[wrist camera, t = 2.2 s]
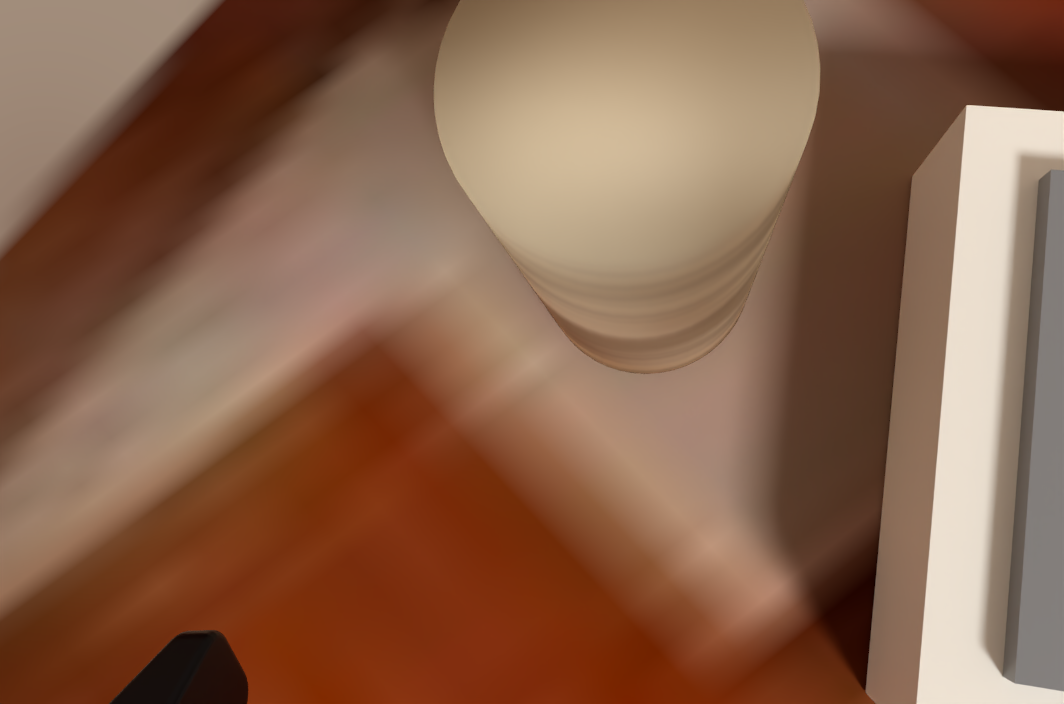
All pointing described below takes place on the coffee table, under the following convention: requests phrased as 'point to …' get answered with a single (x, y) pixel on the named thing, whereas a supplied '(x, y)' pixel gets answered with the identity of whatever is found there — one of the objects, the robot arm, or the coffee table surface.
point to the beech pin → (630, 156)
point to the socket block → (977, 425)
